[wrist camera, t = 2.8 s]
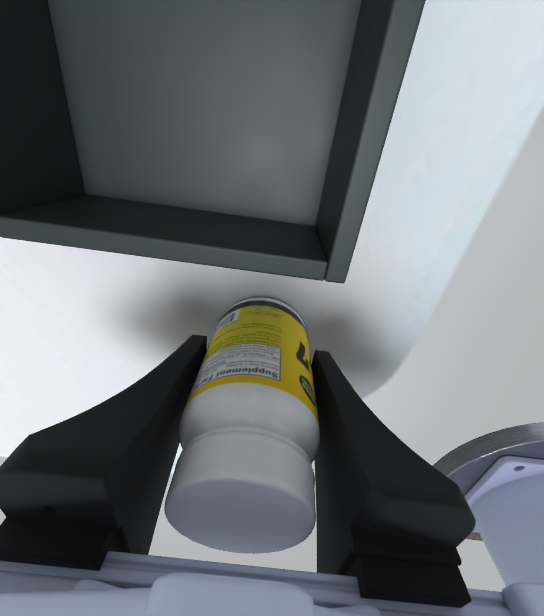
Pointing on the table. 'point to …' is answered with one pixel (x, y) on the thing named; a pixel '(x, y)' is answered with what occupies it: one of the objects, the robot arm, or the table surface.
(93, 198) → the storage tray
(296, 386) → the supplement bottle
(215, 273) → the table surface
